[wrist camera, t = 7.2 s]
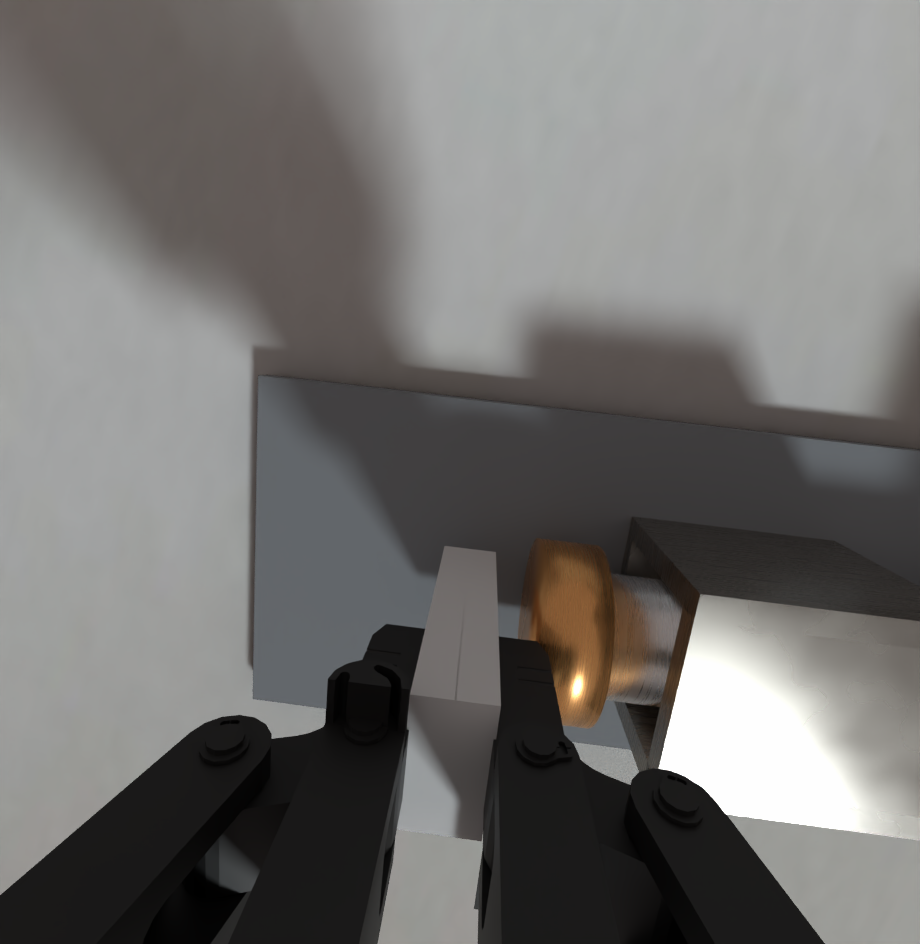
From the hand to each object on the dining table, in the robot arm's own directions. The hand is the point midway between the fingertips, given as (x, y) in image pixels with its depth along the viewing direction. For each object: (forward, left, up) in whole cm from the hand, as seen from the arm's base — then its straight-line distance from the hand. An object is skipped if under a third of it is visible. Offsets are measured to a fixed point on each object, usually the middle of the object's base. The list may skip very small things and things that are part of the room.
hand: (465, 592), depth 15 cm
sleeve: (+8, 0, -2) cm, 8 cm away
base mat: (+7, 0, -2) cm, 7 cm away
